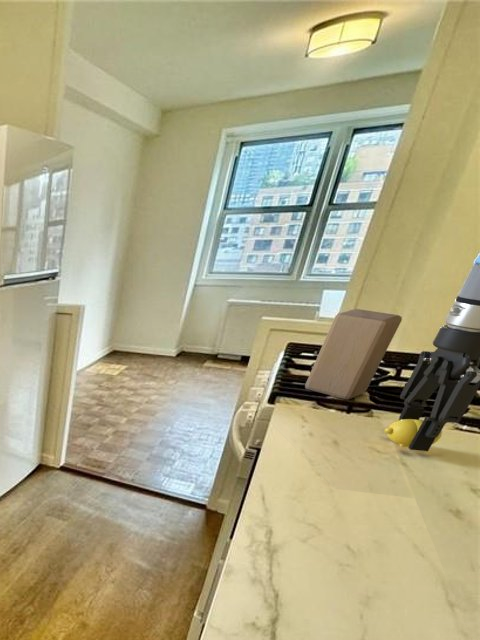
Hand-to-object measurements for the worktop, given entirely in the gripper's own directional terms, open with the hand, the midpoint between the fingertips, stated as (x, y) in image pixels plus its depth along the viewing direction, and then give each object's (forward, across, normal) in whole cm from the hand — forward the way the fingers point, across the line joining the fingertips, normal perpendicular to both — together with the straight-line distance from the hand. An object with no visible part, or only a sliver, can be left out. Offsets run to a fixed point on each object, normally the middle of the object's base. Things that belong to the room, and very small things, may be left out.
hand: (408, 442), depth 97 cm
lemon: (0, 0, 0) cm, 0 cm away
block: (+2, -34, +2) cm, 34 cm away
